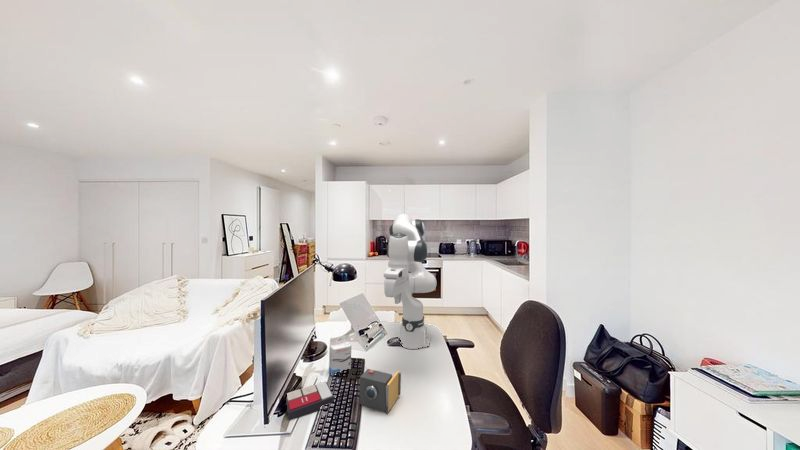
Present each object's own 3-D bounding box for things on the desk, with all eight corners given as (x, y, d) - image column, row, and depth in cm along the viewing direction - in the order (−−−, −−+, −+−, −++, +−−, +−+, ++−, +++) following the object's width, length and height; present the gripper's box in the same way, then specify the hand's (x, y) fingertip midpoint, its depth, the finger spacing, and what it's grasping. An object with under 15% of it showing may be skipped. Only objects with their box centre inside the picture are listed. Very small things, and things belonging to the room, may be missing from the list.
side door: (396, 394, 100) (397, 370, 101) (400, 395, 100) (400, 371, 100) (384, 412, 90) (385, 386, 90) (388, 414, 90) (389, 387, 90)
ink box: (332, 377, 112) (333, 342, 112) (328, 372, 116) (329, 338, 117) (351, 371, 117) (351, 338, 117) (347, 366, 121) (347, 334, 121)
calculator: (284, 392, 96) (326, 379, 104) (285, 404, 96) (326, 390, 104) (288, 410, 87) (334, 394, 94) (289, 423, 87) (334, 406, 94)
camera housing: (367, 395, 100) (368, 367, 101) (391, 402, 97) (392, 372, 97) (357, 407, 93) (358, 377, 94) (383, 415, 90) (383, 383, 90)
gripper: (400, 267, 126) (399, 296, 126) (381, 273, 107) (381, 308, 107) (412, 268, 124) (412, 298, 123) (396, 275, 105) (395, 310, 104)
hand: (397, 303), depth 115 cm, fingers closed
